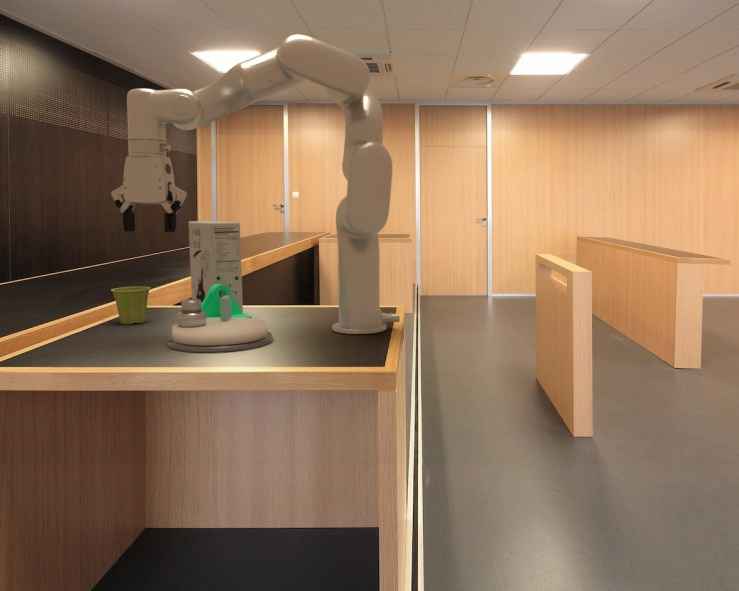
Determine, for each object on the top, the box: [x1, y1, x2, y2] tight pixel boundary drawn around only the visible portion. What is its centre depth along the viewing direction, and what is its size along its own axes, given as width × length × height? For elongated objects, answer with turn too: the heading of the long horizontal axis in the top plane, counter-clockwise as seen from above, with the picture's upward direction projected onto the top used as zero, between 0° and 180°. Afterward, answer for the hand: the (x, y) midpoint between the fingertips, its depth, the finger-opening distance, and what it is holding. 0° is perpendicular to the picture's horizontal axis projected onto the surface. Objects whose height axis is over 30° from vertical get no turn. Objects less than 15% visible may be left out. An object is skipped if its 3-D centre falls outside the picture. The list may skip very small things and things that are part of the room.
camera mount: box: [201, 284, 253, 318], centre depth 160 cm, size 12×8×10 cm, turn 123°
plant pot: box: [110, 286, 151, 325], centre depth 167 cm, size 9×9×9 cm
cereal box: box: [188, 220, 244, 313], centre depth 176 cm, size 22×8×25 cm, turn 29°
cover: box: [176, 298, 207, 328], centre depth 142 cm, size 6×6×5 cm
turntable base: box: [166, 331, 274, 354], centre depth 143 cm, size 22×22×1 cm
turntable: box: [171, 296, 269, 346], centre depth 142 cm, size 20×20×7 cm
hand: (149, 231), depth 142 cm, fingers open, 9 cm apart
